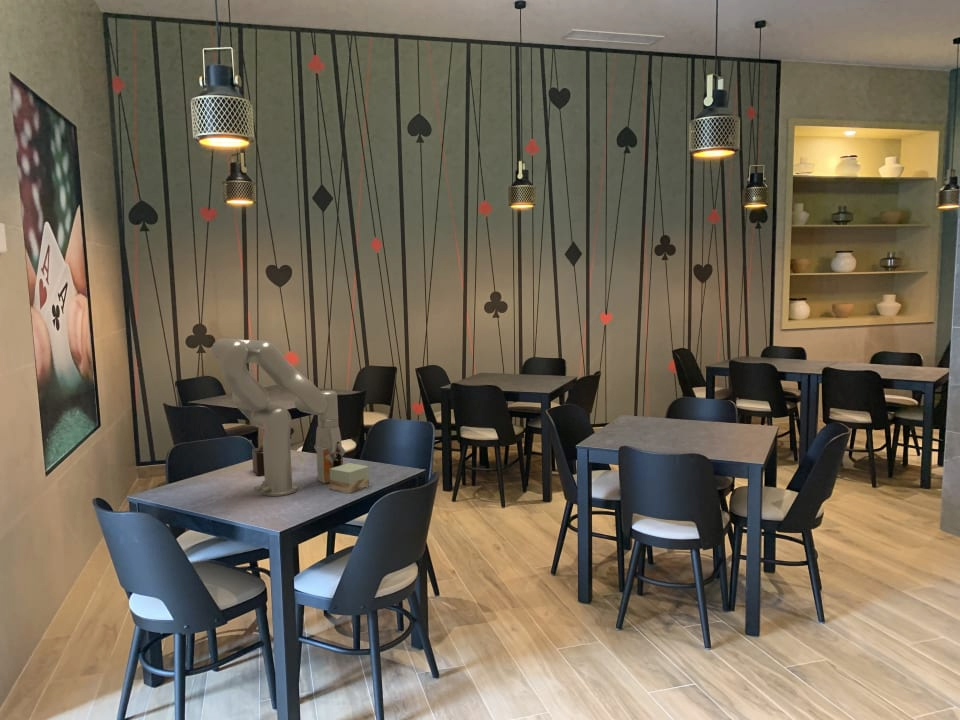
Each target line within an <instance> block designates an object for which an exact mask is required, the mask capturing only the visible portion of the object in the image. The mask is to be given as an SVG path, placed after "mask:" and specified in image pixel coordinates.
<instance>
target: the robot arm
mask: <svg viewBox="0 0 960 720" xmlns="http://www.w3.org/2000/svg"><path fill="white" fill-rule="evenodd" d="M211 354H212V356H213V358H214V359H215V360H216V361H218V362H220V363H222V365H221V367H222V368H221V376H222V378H223V381H224V383H225V384H226V385H227V387H228V388H229V389H230V390H231V392H232V393H231V399H232V402H233V404H234V406H235V407H236V408H237V409H238V410H239V411H240V412H241V413H242V414H243V416H245V417H246V418H247V419H248V420H249V422H251V423H252V425H254V426H255V427H257V428H259V429H263V430H264V433H263V438H262V445H263V456H264V474H265V476H264V480H263V481H262V483H261V484H260V485H256V486H254V487H253V492H255V493H257V492H260V494H261V495H262V496H267V497H279V496H280V497H281V496H287V495H290V494H293V493H295V492H297V491H298V486H297V485H296V484H294V483H293V473H292V472H293V469H292V454H291V453H292V451H291V439H290V430H291V428H292V416H291V414H290V412H289V410H288V409H286V408H285V407H284V406H281V405H279V404H273V403H270V402H271V398H270V394H269V392H268V391H267V390H266V388H265V387H263V385H262V384H260V383H259V381H258V380H257V379H256V378H255V377H254V376H253V375H252V373H251V372H249V370H248V365H247V364H257V365H258V366H259V367H260V368H261V369H262V370H263V371H264V372H265V374H266V375H267V376H268V377H269V379H271V380H272V381H273V382H274V383H275V385H277V386H278V387H280V389H281V388H282V389H283V390H285V391H288V392H289V393H291V394H293V395H294V396H295V398H294V399H295V400H294V406H295V408H296V409H297V410H299V412H302V413H306V414H309V415H315V416H316V415H317V427H316V431H315V432H316V433H315V444H314V445H313V447H314V448H313V449H314V450H315V452H316V454H317V448H316V447H320V448H326V449H328V454H329V455H333V457H334V460H335V461H334V462H333V463H334V467H337V466H341V460H342V457H343V458H344V456H345V453H346V450H345V448H344V447H343V446H342V444H343V443H342V435H341V431H340V427H339V408H338V393H337V392H336V391H335V390H328V389H327V390H322V391H321V390H320V389H319V388H318V387H317V386H316V385H315V383H313V382H312V381H311V380H309V379H308V377H306V376H304V374H302V373H301V372H299V371H298V370H297V369H296V368H295V367H294V366H293V365H292V364H291V363H290V362H289V361H288V359H287V358H286V357H285V356H284V355H283V354H282V353H281V351H280V350H279V349H278V348H277V347H276V345H274V344H273V343H272V342H270V341H267V340H257V339H238V338H228V337H223V338H220V339H217V340H216V341H215V342H213V344H212V346H211ZM337 448H338V452H336V449H337ZM339 451H340V452H339ZM336 454H338V456H336Z"/></svg>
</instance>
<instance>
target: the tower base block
mask: <svg viewBox="0 0 960 720" xmlns="http://www.w3.org/2000/svg"><path fill="white" fill-rule="evenodd" d="M367 486H369V487H370V476H369V477H368V478H365V479H362V480H359V481H356V482H353V483H345V482H340V481H335V480H330V482H329V489H330V490H334V491H338V492H343V493H346V494H347V493H348V494H350V493H354V492H357V491H360V490H362V488H363V489H365V488H364V487H366V488H368V487H367ZM359 489H360V490H359Z"/></svg>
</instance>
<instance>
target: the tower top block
mask: <svg viewBox="0 0 960 720" xmlns="http://www.w3.org/2000/svg"><path fill="white" fill-rule="evenodd" d="M368 477H369V478H370V467H369V465H368V466H367V465H362V464H356V463H352V462H348V463H345V464H344V463H343V465H341V466H337V467H334V468H331V469H330V480H335V481H340V482H345V483H353V482H356V481H359V480H362V479H365V478H368Z"/></svg>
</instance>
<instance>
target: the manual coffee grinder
mask: <svg viewBox="0 0 960 720" xmlns="http://www.w3.org/2000/svg"><path fill="white" fill-rule="evenodd" d="M294 433H295V429H294V428H293V427H291V430H290V440H292V435H294ZM251 455H252V456H251V457H252V471H253V473H254V474H255V475H256V476H257V477H265V474H264V456H263V444H261V446H259V447H254V448H252V449H251Z"/></svg>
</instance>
